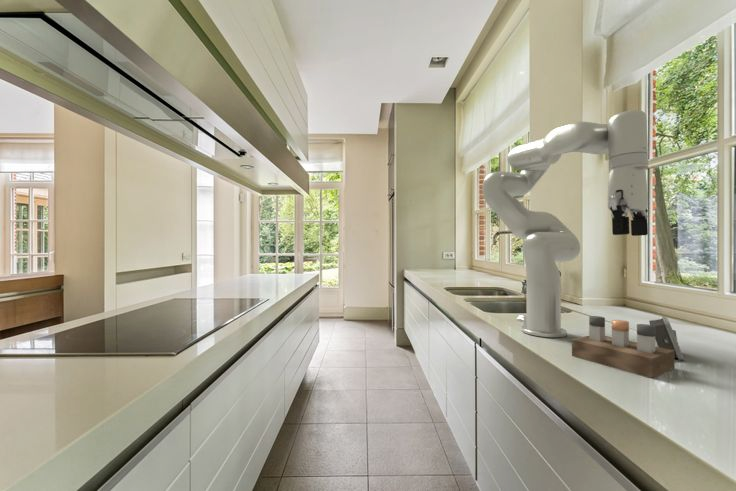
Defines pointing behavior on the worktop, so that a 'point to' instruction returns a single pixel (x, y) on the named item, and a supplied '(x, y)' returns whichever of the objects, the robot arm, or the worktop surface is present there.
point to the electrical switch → (666, 336)
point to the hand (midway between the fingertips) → (630, 235)
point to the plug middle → (620, 333)
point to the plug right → (646, 338)
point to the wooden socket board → (624, 356)
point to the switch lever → (597, 328)
